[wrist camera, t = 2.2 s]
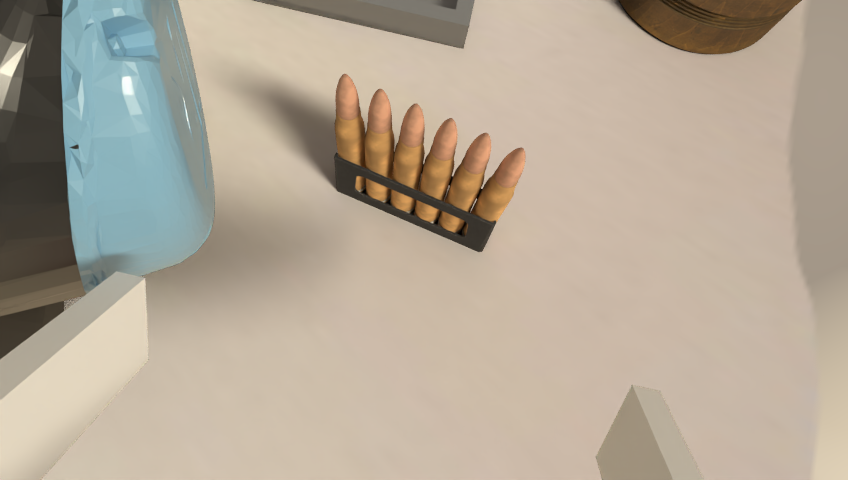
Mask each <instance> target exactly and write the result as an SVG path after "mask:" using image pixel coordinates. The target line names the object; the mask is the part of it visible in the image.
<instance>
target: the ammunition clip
mask: <svg viewBox="0 0 848 480" xmlns="http://www.w3.org/2000/svg"><path fill="white" fill-rule="evenodd" d="M335 134H336V141H337V149H338V153H336V154H335V156H334V158H335V170H336V185H337V191H338V192H341V193H343V194H345V195H348V196H350V197H352V198H355V199H357V200H359V201H362V202H364V203H366V204H369V205H371V206H373V207H376V208H378V209H380V210H383V211H385V212H387V213H389V214H392V215H394V216H396V217H399V218H401V219H403V220H406V221H408V222H410V223H413V224H415V225H417V226H420V227H422V228H424V229H427V230H429V231H431V232H434V233H436V234H438V235H440V236H443V237H445V238H447V239H450V240H452V241H454V242H457V243H459V244H461V245H464V246H466V247H468V248H471V249H473V250H475V251H478V252H482V251H483V249H484V247H485V245H486V243H487V241H488V239H489V237H490V234H491V232H492V230H493V228H494V226H495V224H496V222H497V221H498V219H499V217H500V216H501V214H502V213H503V211H504V210H505V208H506V206H507V205H508V203H509V202H510V200H511V198H512V197H513V194H514V189H515V186H516V184H517V182H518V179H519V178H520V176H521V174H522V171H523V169H524V164H525V151H524V149H523V148H517V149H515V150H514V151H512V152H511V153H509V154H508V155H507V156H506V157H505V158H504V160H503V161H502V162H501V164H500V165H499V167H498V169H497V170H496V171H495V173H494V174H493V176H492V177H490V178H489V179H488V181H487V182H486V184H485V185H484V187H483V189H481V186H482V184H483V181H484V173H485V170H486V166H487V163H488V161H489V157H490V152H491V140H490V136H489V135H488V134H487V133H483V134H481V135H480V136H478V137H477V138H476V139H475V140H474V141H473V143H472V144H471V145H470V147H469V149H468V150H467V152H466V154H465V157H464V158H463V160H462V163H461V164H460V165H459V167H458V168H457V169H456V171H455V173H454V176H453V177H452V173H453V169H454V155H455V149H456V145H457V128H456V124H455V122H454V120H453V119H452V118H449V119H447V120H446V121H444V122H443V124H442V125H441V126H440V128H439V129H438V131H437V133H436V135H435V137H434V141H433V145H432V146H431V150H430V153H429V154H428V155H427V157H426V159H425V163H424V164H423V160H424V154H425V152H424V145H423V143H424V117H423V113H422V110H421V108H420V106H419V105H418V104H413V105H412V106H411V107H410V108H409V109H408V111H407V113H406V114H405V117H404V119H403V123H402V126H401V132H400V136H399V141H398V143H397V145H396V148H395V152H394V134H393V131H392V115H391V107H390V102H389V99H388V97H387V95H386V93H385V92H384V91H383V90H382V89H378V90H377V91H376V92H375V94H374V95H373V97H372V100H371V103H370V106H369V112H368V123H367V131H366V135H365V127H364V121H363V119H362V117H361V111H360V107H359V98H358V94H357V90H356V87H355V85H354V83H353V81H352V79H351V78H350V77H349V76H348V75H347V74H343V75H342V76H341V78H340V80H339V82H338V85H337V89H336V120H335ZM338 156H339V157H338ZM393 162H394V165H393ZM421 174H422V177H421ZM392 175H393V176H392ZM420 177H421V181H420ZM419 182H420V186H419ZM448 185H450V188H449V191H448V193H447V196H446V199H445V202H444V198H445V195H446V192H447V189H448ZM418 188H419V191H418ZM476 198H477V201H476V203H475V205H474V207H473V209H472V211H471V213H470V210H471V208H472V206H473V204H474V202H475V199H476Z"/></svg>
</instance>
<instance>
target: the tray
mask: <svg viewBox="0 0 848 480" xmlns="http://www.w3.org/2000/svg"><path fill="white" fill-rule="evenodd" d="M254 1H258V2H263V3H267V4H271V5H276V6H280V7H284V8H289V9H293V10H298V11H302V12H306V13H311V14H315V15H319V16H324V17H328V18H332V19H337V20H341V21H346V22H350V23H354V24H359V25H363V26H367V27H372V28H376V29H380V30H385V31H389V32H393V33H398V34H402V35H407V36H411V37H415V38H420V39H424V40H428V41H433V42H437V43H441V44H446V45H450V46H455V47H459V48H464V44H465V40H466V36H467V32H468V27H469V23H470V18H471V14H472V9H473V4H474V0H254Z"/></svg>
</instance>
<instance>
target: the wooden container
mask: <svg viewBox="0 0 848 480" xmlns="http://www.w3.org/2000/svg"><path fill="white" fill-rule="evenodd" d="M619 1H620V3H621V4H622V6H623V7H624V9H625V10H626V12H627V13H628V14H629V15H630V16H631V17H632V18H633V19H634V20H635V21H636V22H637V23H638V24H639V25H640V26H641V27H643V28H644V29H645V30H646V31H648V32H649V33H651V34H652V35H654V36H655V37H657V38H658V39H660V40H662V41H664V42H666V43H668V44H670V45H672V46H675V47H677V48H680V49H683V50H686V51H690V52H695V53H702V54H724V53H731V52H735V51H739V50H742V49H744V48H746V47H748V46H750V45H752V44H754V43H755V42H757V41H758V40H759V39H761V38H762V37H763V36H764V35H765V34H766V33H767V32H768V31H769V30H770V29H771V28H773V27H774V26H775V25H776V24H777V23H778V22H779V21H780V20H781V19H782V18H783V17H784V16H785V15H786V14H787V13H788V12H789V11H790V10H791V9H792V8H793V7H794V6H796V5H797V4H798V3H799V2H800V1H802V0H619Z"/></svg>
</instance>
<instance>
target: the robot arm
mask: <svg viewBox="0 0 848 480" xmlns="http://www.w3.org/2000/svg"><path fill="white" fill-rule="evenodd" d="M214 213H215V194H214V180H213V170H212V163H211V156H210V150H209V143H208V137H207V131H206V125H205V119H204V114H203V108H202V103H201V98H200V93H199V88H198V83H197V79H196V74H195V69H194V65H193V60H192V56H191V52H190V47H189V43H188V39H187V34H186V30H185V27H184V23H183V19H182V15H181V11H180V7H179V3H178V0H0V480H41V479H42V478H43V477H44V476H45V474H46V473H47V472H48V471H49V470H50V469H51V468H52V467H53V466H54V464H55V463H56V462H57V461H58V460H59V459H60V458H61V457H62V456H63V454H64V453H65V452H66V451H67V450H68V449H69V448H70V447H71V446H72V444H73V443H74V442H75V441H76V440H77V439H78V438H79V437H80V436H81V434H82V433H83V432H84V431H85V430H86V429H87V428H88V427H89V426H90V424H91V423H92V422H93V421H94V420H95V419H96V418H97V417H98V416H99V414H100V413H101V412H102V411H103V410H104V409H105V408H106V407H107V406H108V404H109V403H110V402H111V401H112V400H113V399H114V398H115V397H116V396H117V394H118V393H119V392H120V391H121V390H122V389H123V388H124V387H125V386H126V384H127V383H128V382H129V381H130V380H131V379H132V378H133V377H134V375H135V374H136V373H137V372H138V371H139V370H140V369H141V368H142V367H143V365H144V364H145V363H146V362H147V361H148V360H149V359H148V333H147V307H146V282H145V278H144V277H140V276H142V275H146V274H149V273H152V272H155V271H158V270H161V269H164V268H167V267H170V266H174V265H177V264H179V263H181V262H183V261H184V260H185V259H187V258H188V257H189V256H191V255H193V254H194V253H195V252H196V251H198V249H199V248H200V247H201V246H202V244H203V243H204V242H205V240H206V239H207V238H208V236H209V234H210V231H211V229H212V226H213V221H214ZM81 296H83V297H82V298H81V299H79V300H78V301H77V302H75V303H74V304H73V305H71V306H70V307H69V308H68V309H66V310H65V311H64V301H65V300H69V299H73V298H77V297H81ZM596 459H597V463H598V467H599V470H600V474H601V477H602V480H704V478H703V476H702V474H701V472H700V470H699V468H698V466H697V464H696V462H695V460H694V458H693V456H692V454H691V452H690V450H689V448H688V446H687V444H686V442H685V440H684V438H683V436H682V434H681V432H680V430H679V428H678V426H677V424H676V422H675V420H674V418H673V416H672V414H671V412H670V410H669V408H668V406H667V404H666V402H665V400H664V398H663V396H662V394H661V392H660V391H658V390H653V389H649V388H644V387H640V386H635V385H632V386H631V388H630V390H629V392H628V394H627V396H626V398H625V400H624V402H623V404H622V406H621V408H620V410H619V412H618V414H617V416H616V418H615V420H614V422H613V424H612V426H611V428H610V430H609V432H608V434H607V436H606V438H605V440H604V442H603V444H602V446H601V448H600V450H599V452H598V454H597V456H596Z"/></svg>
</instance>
